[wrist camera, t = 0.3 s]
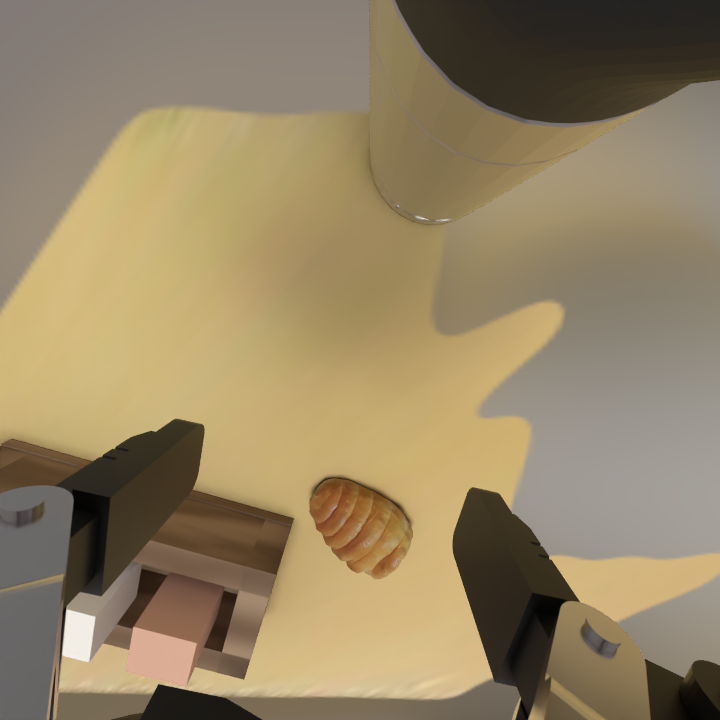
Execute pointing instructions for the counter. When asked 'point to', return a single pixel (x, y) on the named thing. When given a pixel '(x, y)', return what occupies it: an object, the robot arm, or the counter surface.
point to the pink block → (174, 629)
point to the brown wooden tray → (186, 555)
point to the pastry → (361, 527)
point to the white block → (98, 615)
